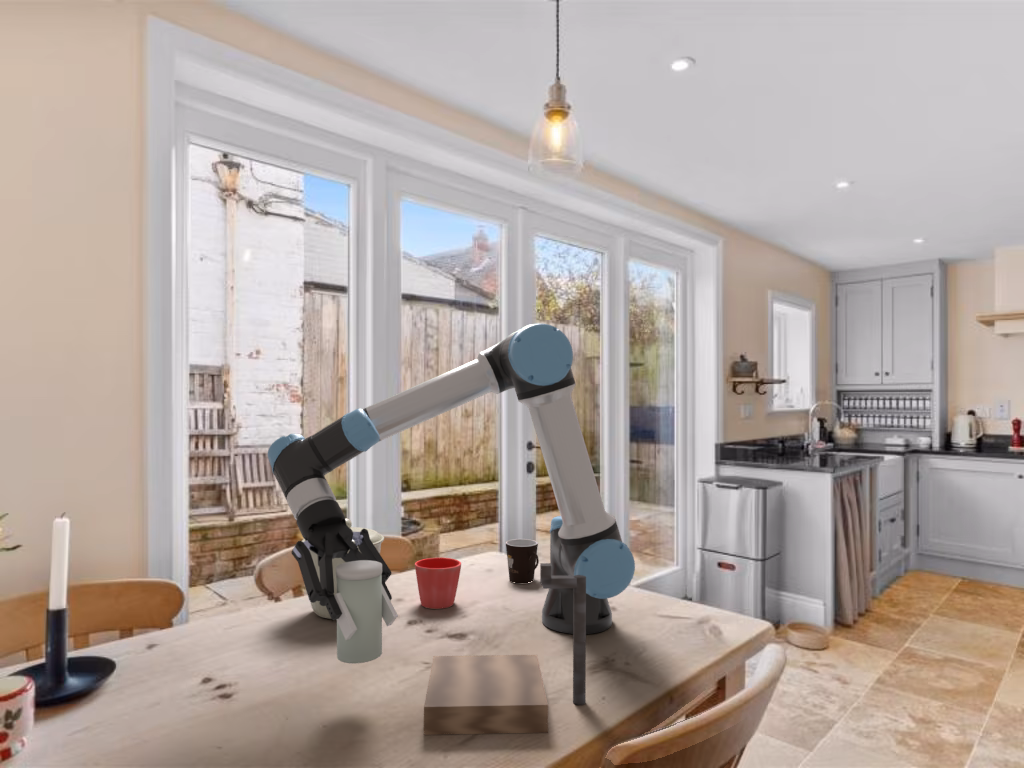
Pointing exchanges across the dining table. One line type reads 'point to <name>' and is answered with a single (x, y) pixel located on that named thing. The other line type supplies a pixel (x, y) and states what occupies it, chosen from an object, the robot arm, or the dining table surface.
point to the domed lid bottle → (361, 610)
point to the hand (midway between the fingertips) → (372, 627)
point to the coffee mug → (522, 559)
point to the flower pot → (437, 581)
